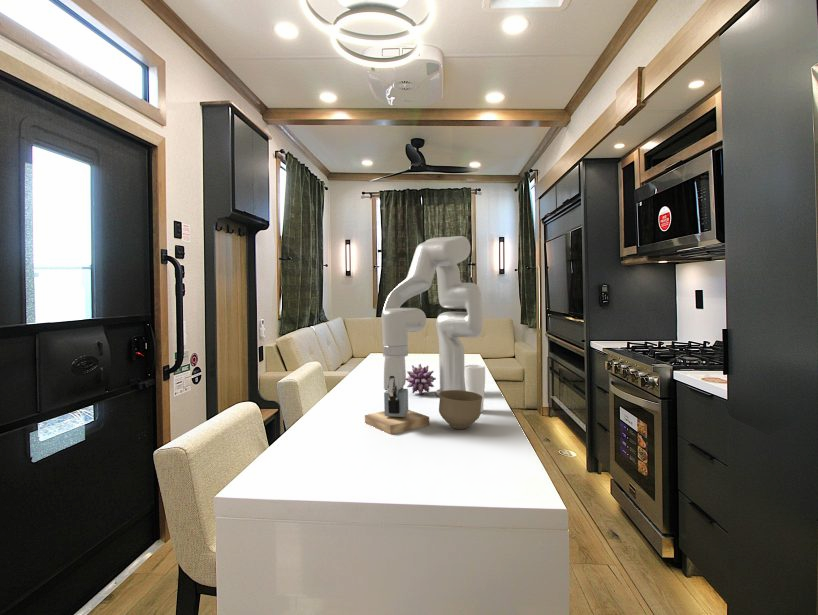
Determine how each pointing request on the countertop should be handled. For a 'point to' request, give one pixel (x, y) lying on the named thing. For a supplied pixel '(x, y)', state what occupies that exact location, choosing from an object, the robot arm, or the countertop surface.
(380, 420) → the block
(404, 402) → the slate tea tin
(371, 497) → the countertop surface
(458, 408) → the bowl
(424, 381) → the purple spiky ball
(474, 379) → the drinking glass
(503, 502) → the countertop surface
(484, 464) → the countertop surface
